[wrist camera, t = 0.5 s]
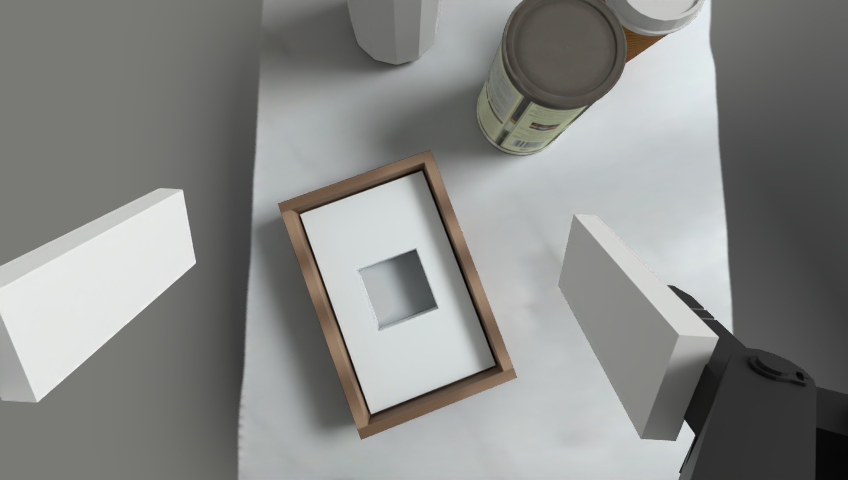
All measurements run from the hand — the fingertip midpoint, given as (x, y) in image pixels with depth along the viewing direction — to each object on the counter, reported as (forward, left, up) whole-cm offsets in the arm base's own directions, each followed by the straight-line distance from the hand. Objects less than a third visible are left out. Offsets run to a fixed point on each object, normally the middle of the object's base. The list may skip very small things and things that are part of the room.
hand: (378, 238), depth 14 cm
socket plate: (-3, +1, -32) cm, 32 cm away
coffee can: (+11, -19, -32) cm, 39 cm away
